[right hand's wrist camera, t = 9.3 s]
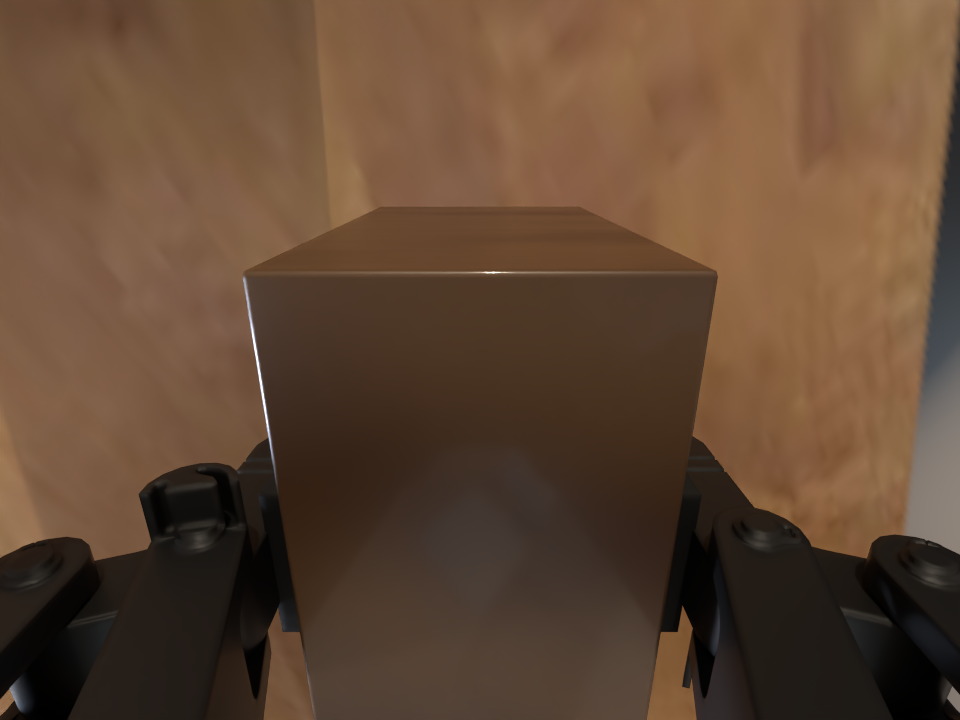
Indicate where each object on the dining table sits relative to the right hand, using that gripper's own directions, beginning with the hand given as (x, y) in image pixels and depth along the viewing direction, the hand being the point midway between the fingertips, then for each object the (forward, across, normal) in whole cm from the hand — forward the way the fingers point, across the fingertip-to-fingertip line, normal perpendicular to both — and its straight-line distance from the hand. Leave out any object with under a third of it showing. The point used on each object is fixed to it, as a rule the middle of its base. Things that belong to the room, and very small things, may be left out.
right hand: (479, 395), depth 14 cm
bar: (+1, 0, -37) cm, 37 cm away
